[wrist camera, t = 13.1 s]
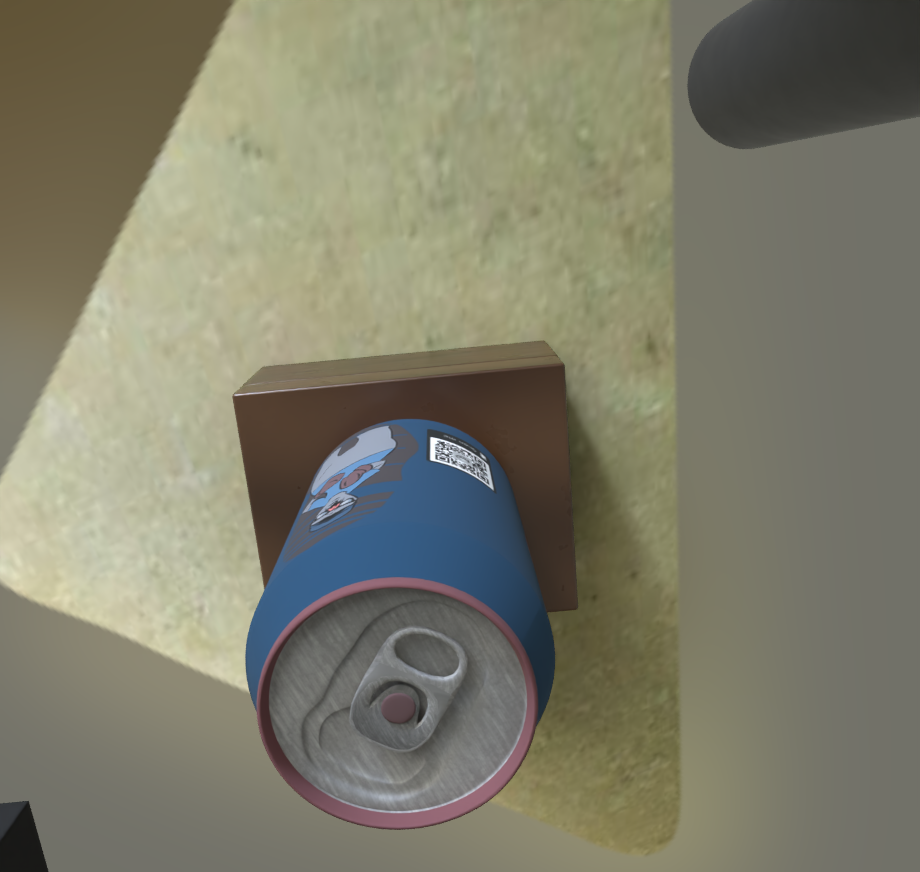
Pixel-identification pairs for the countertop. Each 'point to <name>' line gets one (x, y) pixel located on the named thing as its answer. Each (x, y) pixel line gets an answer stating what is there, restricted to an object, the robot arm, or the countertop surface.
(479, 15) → the countertop surface
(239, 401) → the walnut wood chunk
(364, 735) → the soda can
